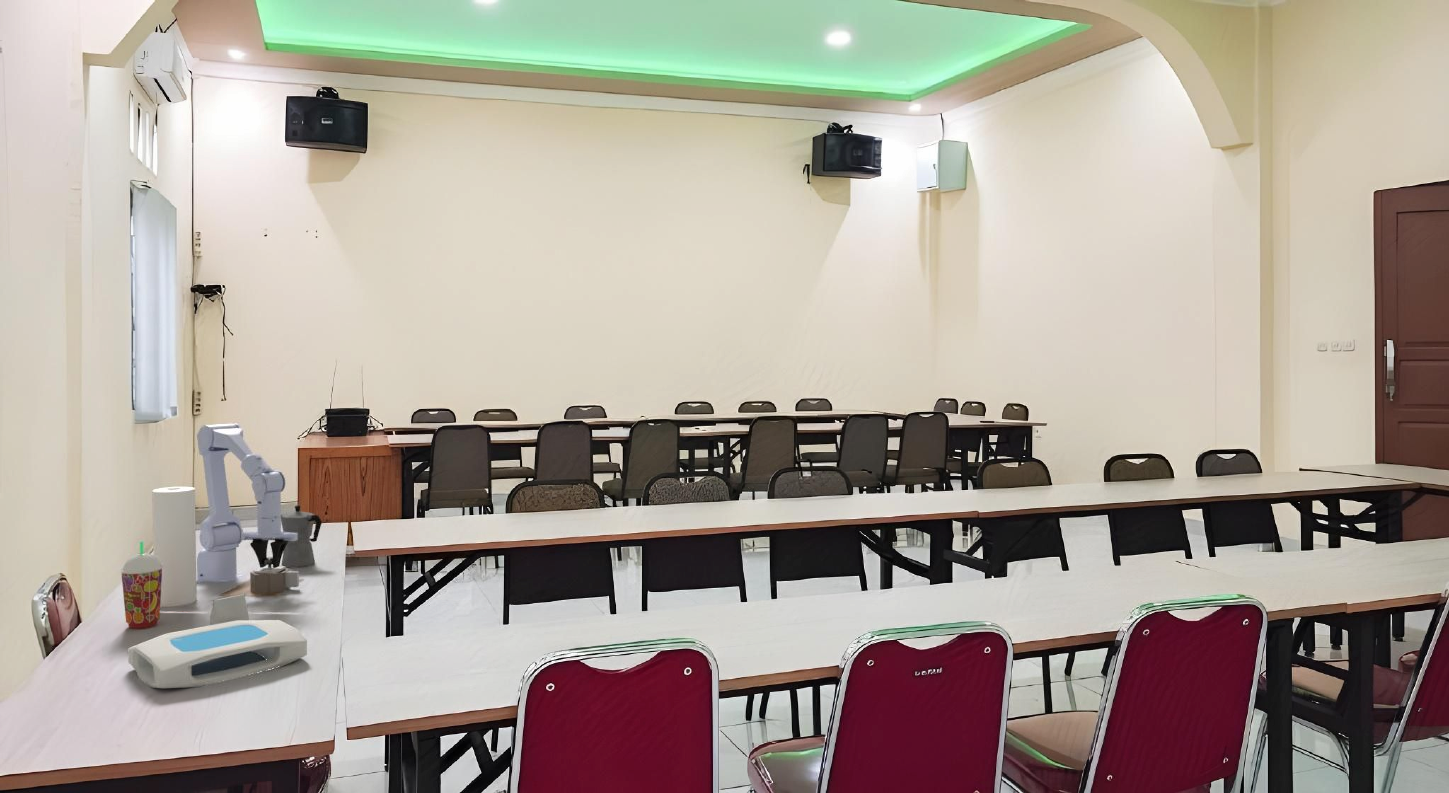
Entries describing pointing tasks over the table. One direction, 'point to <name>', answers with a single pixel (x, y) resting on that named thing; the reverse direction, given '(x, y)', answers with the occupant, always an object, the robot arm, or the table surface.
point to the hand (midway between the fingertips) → (269, 566)
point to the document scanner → (215, 652)
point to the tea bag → (229, 610)
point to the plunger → (268, 562)
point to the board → (247, 591)
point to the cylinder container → (175, 543)
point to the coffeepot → (300, 537)
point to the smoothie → (142, 589)
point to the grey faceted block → (273, 579)
